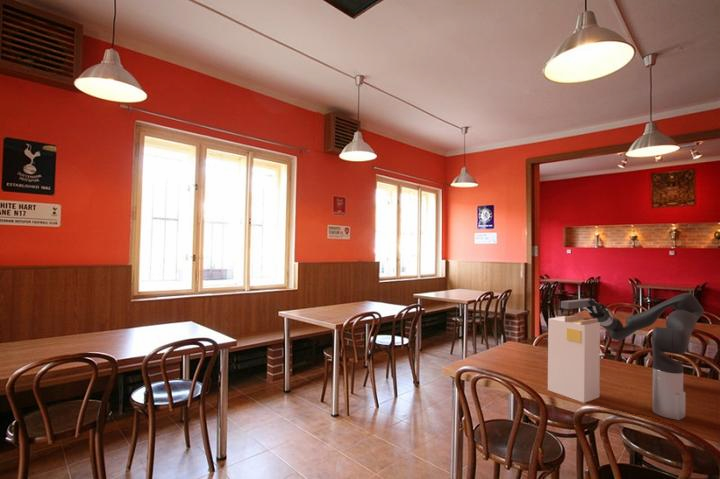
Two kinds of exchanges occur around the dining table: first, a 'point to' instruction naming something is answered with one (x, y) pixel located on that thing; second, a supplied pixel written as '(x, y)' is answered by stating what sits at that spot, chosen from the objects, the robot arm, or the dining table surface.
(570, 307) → the dark gray bar
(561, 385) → the cream carton
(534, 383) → the dining table surface
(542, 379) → the dining table surface
